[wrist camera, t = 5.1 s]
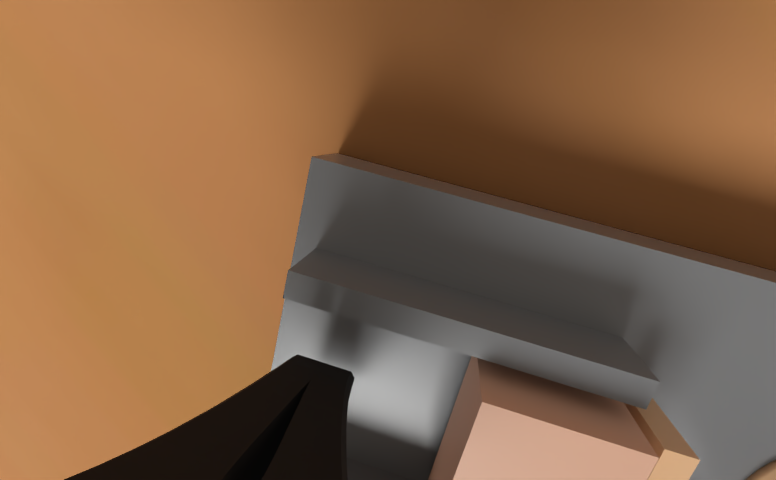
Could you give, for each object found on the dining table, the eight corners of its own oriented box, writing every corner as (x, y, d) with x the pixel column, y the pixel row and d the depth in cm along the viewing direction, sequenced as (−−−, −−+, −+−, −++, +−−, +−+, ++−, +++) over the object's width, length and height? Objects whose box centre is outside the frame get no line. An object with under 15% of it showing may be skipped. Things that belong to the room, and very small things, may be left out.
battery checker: (842, 642, 12) (1032, 887, 8) (276, 448, 13) (204, 573, 9) (1092, 356, 9) (1572, 520, 5) (337, 153, 10) (271, 161, 7)
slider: (546, 522, 10) (570, 618, 8) (427, 481, 10) (421, 564, 8) (612, 385, 8) (659, 458, 7) (475, 344, 9) (482, 401, 7)
